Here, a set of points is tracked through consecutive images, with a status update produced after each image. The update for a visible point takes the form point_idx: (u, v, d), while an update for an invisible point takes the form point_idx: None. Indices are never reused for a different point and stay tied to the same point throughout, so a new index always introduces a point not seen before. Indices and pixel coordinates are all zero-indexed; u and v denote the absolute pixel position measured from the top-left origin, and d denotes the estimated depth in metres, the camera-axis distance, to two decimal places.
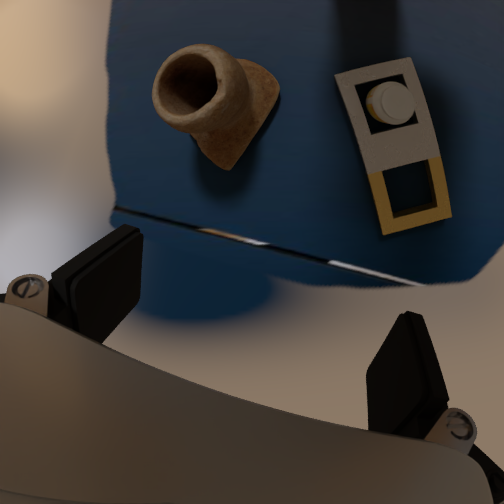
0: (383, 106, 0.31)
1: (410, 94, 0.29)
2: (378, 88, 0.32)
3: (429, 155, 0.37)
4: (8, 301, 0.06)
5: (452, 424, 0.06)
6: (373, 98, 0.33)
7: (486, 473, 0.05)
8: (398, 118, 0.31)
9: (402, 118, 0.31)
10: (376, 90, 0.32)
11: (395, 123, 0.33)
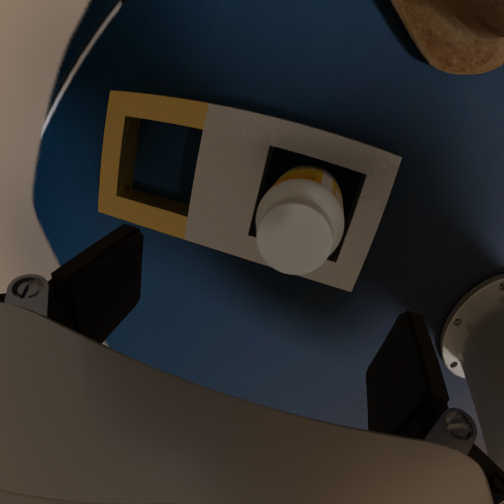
0: (303, 205, 0.16)
1: (295, 271, 0.17)
2: (340, 216, 0.18)
3: (191, 222, 0.25)
4: (8, 301, 0.06)
5: (452, 424, 0.06)
6: (328, 193, 0.18)
7: (486, 473, 0.05)
8: (264, 219, 0.17)
9: (260, 227, 0.17)
10: (339, 209, 0.18)
11: (262, 203, 0.19)
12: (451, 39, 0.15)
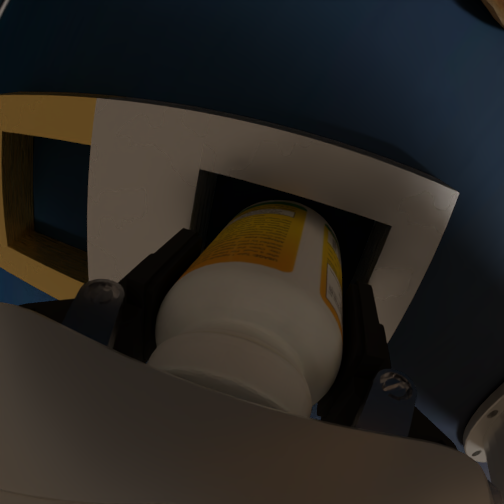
0: (226, 378, 0.05)
1: None
2: (334, 351, 0.07)
3: None
4: (84, 307, 0.07)
5: (388, 386, 0.07)
6: (308, 304, 0.07)
7: (430, 440, 0.06)
8: None
9: None
10: (332, 337, 0.07)
11: (160, 312, 0.08)
12: None
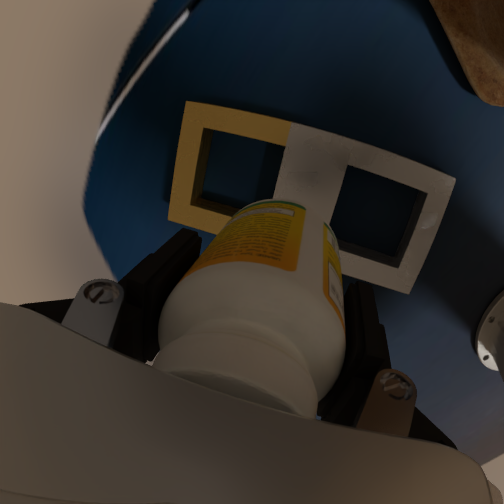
0: (235, 378, 0.05)
1: None
2: (338, 348, 0.08)
3: None
4: (84, 307, 0.07)
5: (388, 386, 0.07)
6: (312, 302, 0.07)
7: (430, 440, 0.06)
8: None
9: None
10: (336, 335, 0.08)
11: (163, 313, 0.08)
12: (497, 76, 0.17)
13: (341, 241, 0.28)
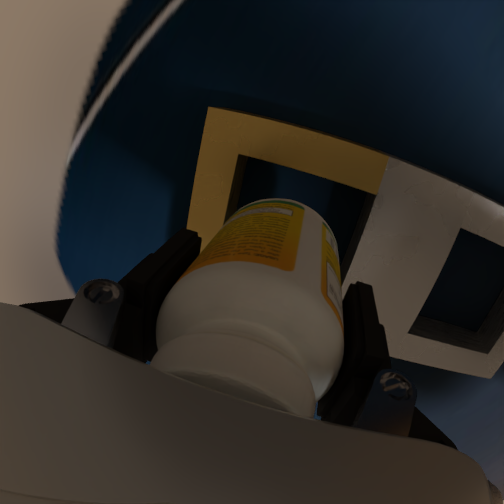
0: (232, 378, 0.05)
1: None
2: (336, 348, 0.08)
3: None
4: (84, 307, 0.07)
5: (388, 386, 0.07)
6: (310, 302, 0.07)
7: (430, 440, 0.06)
8: None
9: None
10: (334, 335, 0.07)
11: (161, 313, 0.08)
12: None
13: (422, 319, 0.19)
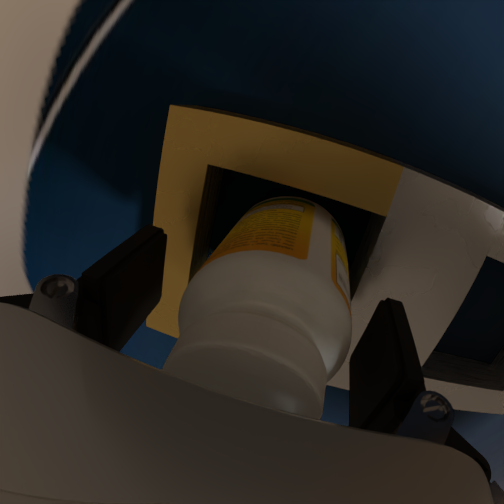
0: (255, 350, 0.06)
1: None
2: (344, 330, 0.08)
3: None
4: (38, 301, 0.06)
5: (428, 407, 0.06)
6: (322, 287, 0.08)
7: None
8: (170, 364, 0.07)
9: None
10: (343, 318, 0.08)
11: (184, 298, 0.09)
12: None
13: (432, 354, 0.16)
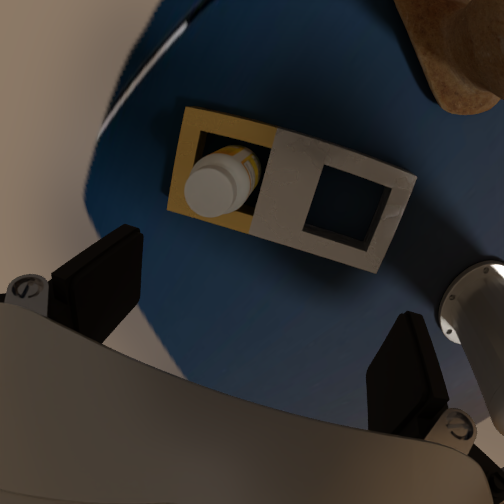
0: (212, 169, 0.24)
1: (211, 215, 0.25)
2: (244, 177, 0.26)
3: (256, 220, 0.32)
4: (8, 301, 0.06)
5: (452, 424, 0.06)
6: (236, 162, 0.26)
7: (486, 473, 0.05)
8: (188, 179, 0.24)
9: (186, 185, 0.24)
10: (244, 173, 0.26)
11: (191, 171, 0.26)
12: (459, 90, 0.23)
13: (317, 228, 0.34)
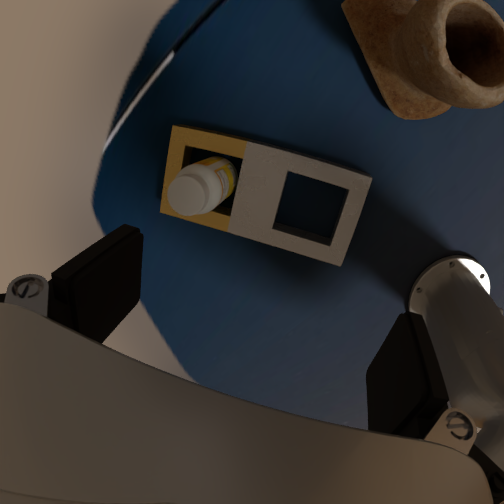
0: (188, 177, 0.29)
1: (188, 213, 0.31)
2: (216, 183, 0.32)
3: (233, 220, 0.38)
4: (8, 301, 0.06)
5: (452, 424, 0.06)
6: (209, 171, 0.31)
7: (486, 473, 0.05)
8: (170, 185, 0.30)
9: (168, 190, 0.30)
10: (215, 179, 0.32)
11: (175, 178, 0.32)
12: (409, 97, 0.28)
13: (288, 226, 0.39)
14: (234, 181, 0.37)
